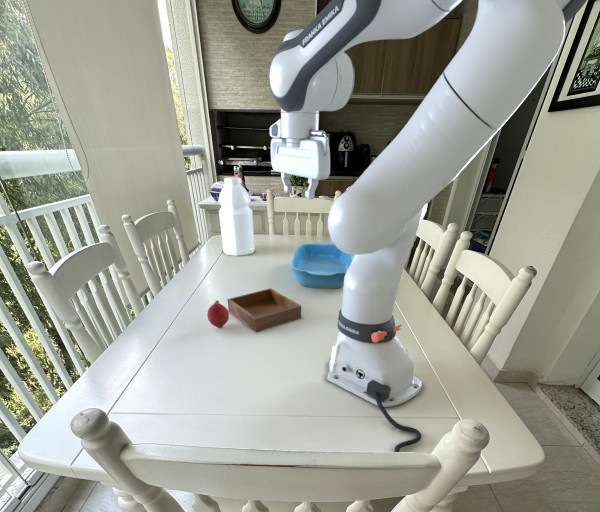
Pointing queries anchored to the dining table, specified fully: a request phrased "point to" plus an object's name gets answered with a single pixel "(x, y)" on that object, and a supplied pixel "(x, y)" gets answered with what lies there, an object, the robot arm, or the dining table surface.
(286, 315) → the tray
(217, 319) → the onion
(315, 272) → the casserole dish
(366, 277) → the robot arm
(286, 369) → the dining table surface
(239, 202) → the bottle
